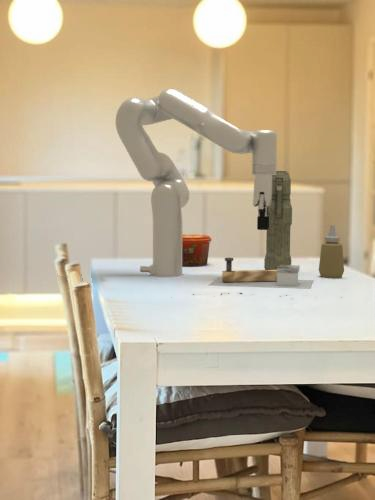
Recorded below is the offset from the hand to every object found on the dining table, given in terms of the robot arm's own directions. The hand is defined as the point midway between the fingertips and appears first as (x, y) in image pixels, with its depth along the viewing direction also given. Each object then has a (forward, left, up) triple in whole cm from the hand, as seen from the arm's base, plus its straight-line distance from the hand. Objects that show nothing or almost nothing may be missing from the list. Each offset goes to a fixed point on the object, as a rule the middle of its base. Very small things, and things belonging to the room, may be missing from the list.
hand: (263, 228), depth 273 cm
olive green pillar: (+3, +19, -17) cm, 26 cm away
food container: (-32, +44, -18) cm, 57 cm away
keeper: (+9, -11, -16) cm, 21 cm away
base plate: (+1, -10, -17) cm, 20 cm away
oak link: (0, -7, -15) cm, 17 cm away
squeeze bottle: (+21, +10, -17) cm, 29 cm away
